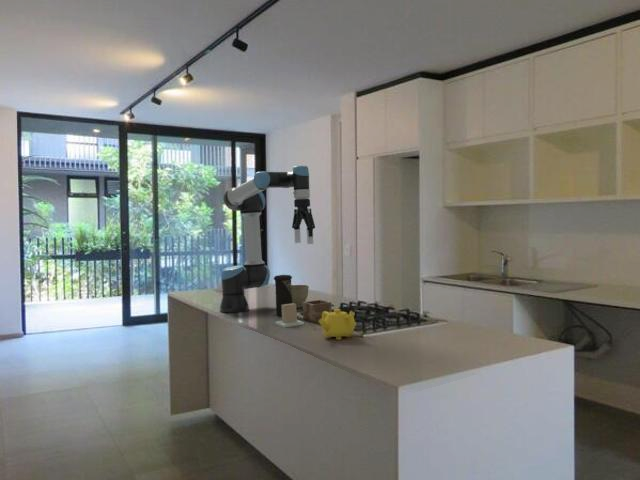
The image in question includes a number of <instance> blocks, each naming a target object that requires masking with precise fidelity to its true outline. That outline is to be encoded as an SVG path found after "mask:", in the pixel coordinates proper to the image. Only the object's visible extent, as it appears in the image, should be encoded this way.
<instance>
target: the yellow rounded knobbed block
mask: <svg viewBox="0 0 640 480" xmlns="http://www.w3.org/2000/svg"><path fill="white" fill-rule="evenodd" d="M355 314H356V313H355V311H352V310H351V311H350V312H349V314H348V312H346V311H341V308H334V309H333V311H332V312H330V313H329V312H327V311H324V312H323V313H322V318H321V319H320V320H319V321H318V323H319V324H320V325H321V331H322V332H323V334H324V335H325V336H326V339H331V338H332V337H333V338H335V340H337V341H340V340H342V337H345V338H351V337H352V336H351V335H352V333H353V332H354V330H355V327H356V326H357V323H356V321H355V317H354V316H355Z"/></svg>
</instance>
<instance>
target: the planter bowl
mask: <svg viewBox="0 0 640 480" xmlns="http://www.w3.org/2000/svg"><path fill="white" fill-rule="evenodd" d="M291 287H292V301H293V303H294V304H296V309H298V308H303V305H302V302H307V299H308V296H309V285H308V284H293V285H292V284H291Z"/></svg>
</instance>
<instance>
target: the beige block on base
mask: <svg viewBox="0 0 640 480" xmlns="http://www.w3.org/2000/svg"><path fill="white" fill-rule="evenodd" d="M281 307H282V316H281V320H276V321H275V322H274V323H275V325H278V326H280V327H282V328H289V327H297V326H302V325H305V321H302V320H299V319H298V318H297V317H298V316H297V313H298V312H297V308H296V304H294V303H292V304H284V305H281Z"/></svg>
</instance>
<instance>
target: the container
mask: <svg viewBox="0 0 640 480" xmlns="http://www.w3.org/2000/svg"><path fill="white" fill-rule="evenodd" d="M292 279H293V276H292V275H290V274H279V275H275V276H273V280H274V283H275V284H274V285H275V308H276V309H275V310H276V311H275V315H276V316H277V317H282V307H281V305H284V304H292V303H293V301H292V287H291V285H292Z"/></svg>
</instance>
